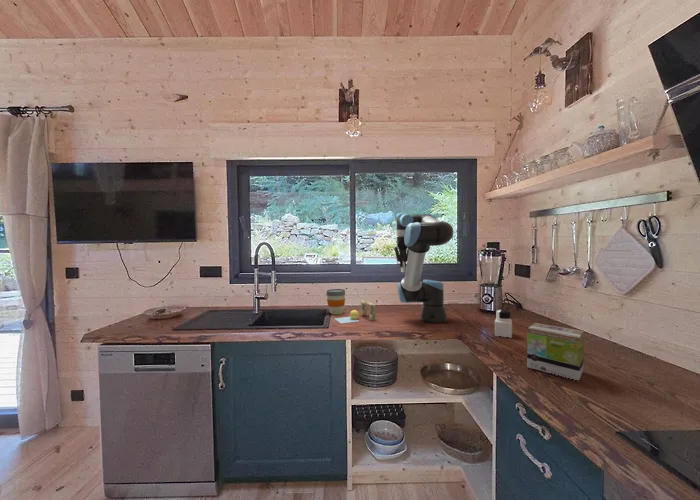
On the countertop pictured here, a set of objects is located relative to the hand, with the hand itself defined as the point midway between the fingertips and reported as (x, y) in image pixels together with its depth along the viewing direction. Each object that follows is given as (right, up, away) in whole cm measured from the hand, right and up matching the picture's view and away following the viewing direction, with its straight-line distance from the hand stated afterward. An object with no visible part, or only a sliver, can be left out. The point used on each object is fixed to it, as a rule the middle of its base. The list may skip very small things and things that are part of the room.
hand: (403, 271), depth 190 cm
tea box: (+37, -28, -89) cm, 101 cm away
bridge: (-24, -27, -13) cm, 39 cm away
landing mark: (-37, -28, -18) cm, 50 cm away
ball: (-33, -25, -16) cm, 44 cm away
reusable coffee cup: (-44, -28, +1) cm, 52 cm away
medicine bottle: (+39, -27, -51) cm, 70 cm away
